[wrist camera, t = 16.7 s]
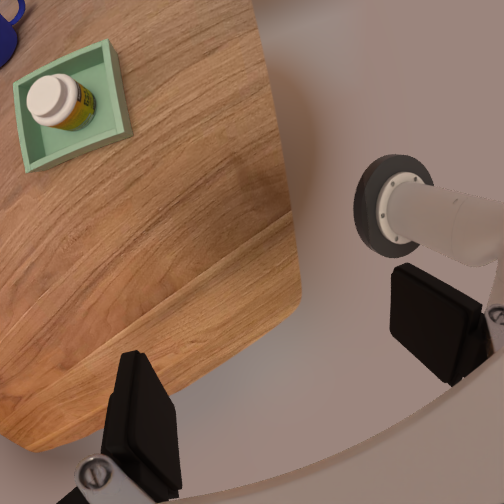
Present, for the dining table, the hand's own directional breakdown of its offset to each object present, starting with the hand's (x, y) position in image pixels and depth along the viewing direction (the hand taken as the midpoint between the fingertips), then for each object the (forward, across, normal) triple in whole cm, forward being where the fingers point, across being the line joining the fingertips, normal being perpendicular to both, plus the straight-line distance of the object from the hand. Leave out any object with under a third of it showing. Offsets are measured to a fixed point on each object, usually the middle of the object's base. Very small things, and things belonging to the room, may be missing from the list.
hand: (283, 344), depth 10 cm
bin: (+28, +13, -17) cm, 35 cm away
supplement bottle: (+28, +13, -17) cm, 35 cm away
